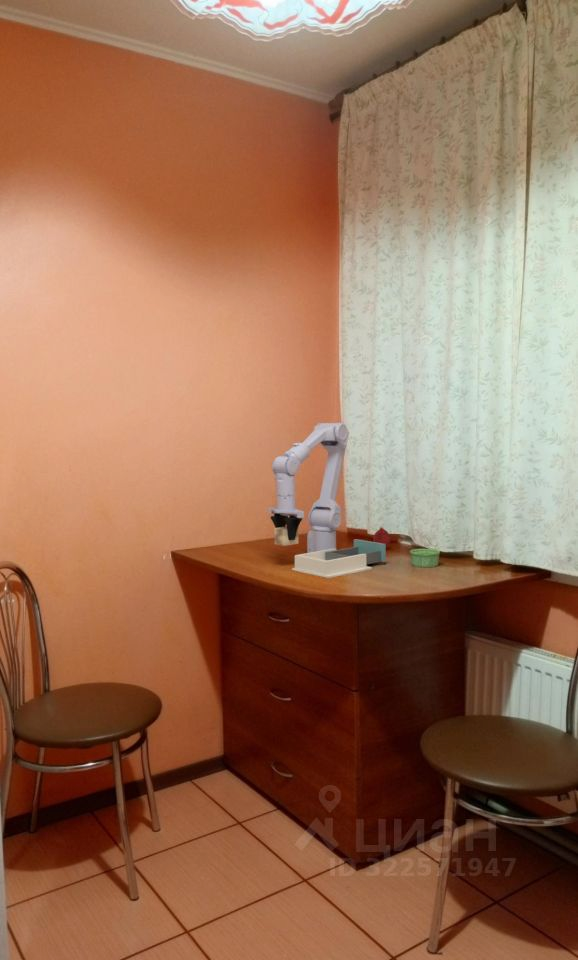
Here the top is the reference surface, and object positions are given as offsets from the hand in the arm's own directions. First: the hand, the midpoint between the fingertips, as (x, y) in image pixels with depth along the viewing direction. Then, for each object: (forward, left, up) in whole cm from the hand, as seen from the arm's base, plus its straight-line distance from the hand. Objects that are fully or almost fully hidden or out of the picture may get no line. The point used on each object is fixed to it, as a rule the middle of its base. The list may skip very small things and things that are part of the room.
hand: (286, 539), depth 232 cm
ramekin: (+29, +31, -9) cm, 43 cm away
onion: (+2, +41, -9) cm, 42 cm away
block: (0, 0, -2) cm, 2 cm away
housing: (+14, +6, -8) cm, 17 cm away
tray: (+14, +15, -7) cm, 22 cm away
